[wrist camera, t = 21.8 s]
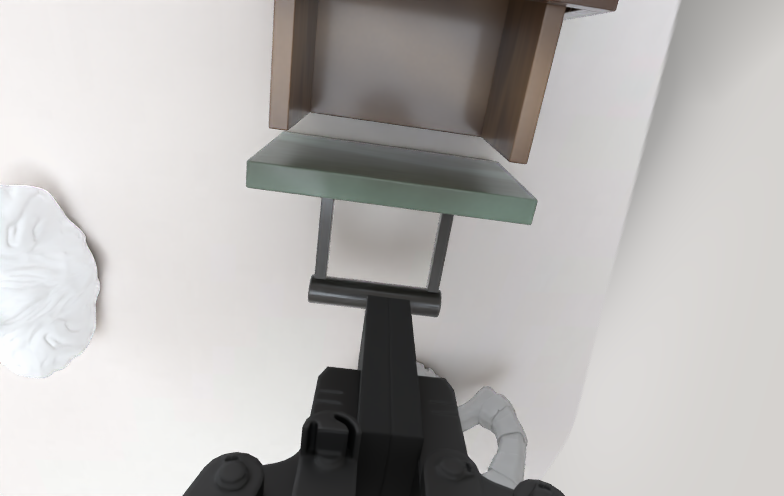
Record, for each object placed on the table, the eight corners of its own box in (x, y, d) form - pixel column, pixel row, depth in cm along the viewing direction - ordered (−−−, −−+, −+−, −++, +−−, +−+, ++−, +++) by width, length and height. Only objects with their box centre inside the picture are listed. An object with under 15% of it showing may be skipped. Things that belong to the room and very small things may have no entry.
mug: (334, 367, 35) (311, 516, 24) (496, 332, 34) (551, 470, 23) (362, 445, 37) (353, 612, 26) (511, 415, 37) (567, 574, 25)
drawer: (471, 281, 31) (497, 352, 24) (276, 257, 30) (241, 323, 23) (560, -112, 23) (642, -187, 16) (299, -160, 22) (258, -262, 15)
